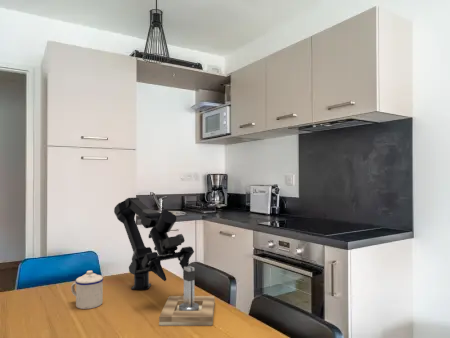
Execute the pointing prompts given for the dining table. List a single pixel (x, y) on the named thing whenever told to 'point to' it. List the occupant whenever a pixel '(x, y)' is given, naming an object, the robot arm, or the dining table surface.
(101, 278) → the teacup with lid
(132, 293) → the dining table surface
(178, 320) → the square wooden tray
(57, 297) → the dining table surface
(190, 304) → the round base pedestal
